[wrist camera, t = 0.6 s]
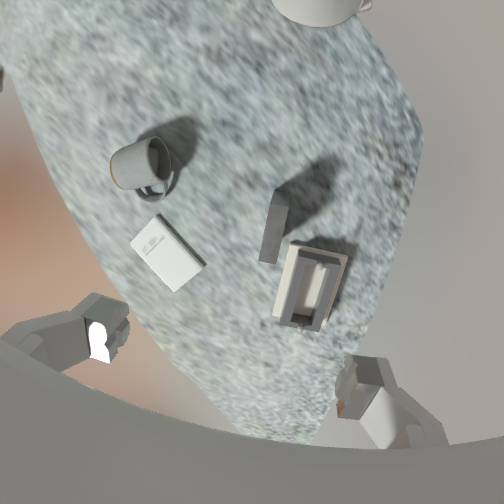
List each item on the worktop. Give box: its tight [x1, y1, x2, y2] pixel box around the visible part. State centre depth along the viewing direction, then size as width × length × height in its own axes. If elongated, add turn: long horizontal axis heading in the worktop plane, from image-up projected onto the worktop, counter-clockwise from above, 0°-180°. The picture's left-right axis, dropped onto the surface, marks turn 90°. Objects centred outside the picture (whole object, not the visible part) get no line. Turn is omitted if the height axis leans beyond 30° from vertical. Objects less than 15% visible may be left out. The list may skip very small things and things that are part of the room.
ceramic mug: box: [110, 136, 171, 203], centre depth 45 cm, size 11×8×8 cm
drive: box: [259, 190, 290, 264], centre depth 44 cm, size 8×2×10 cm, turn 170°
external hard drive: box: [130, 215, 204, 292], centre depth 54 cm, size 2×8×12 cm
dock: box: [272, 243, 348, 333], centre depth 50 cm, size 14×10×5 cm
